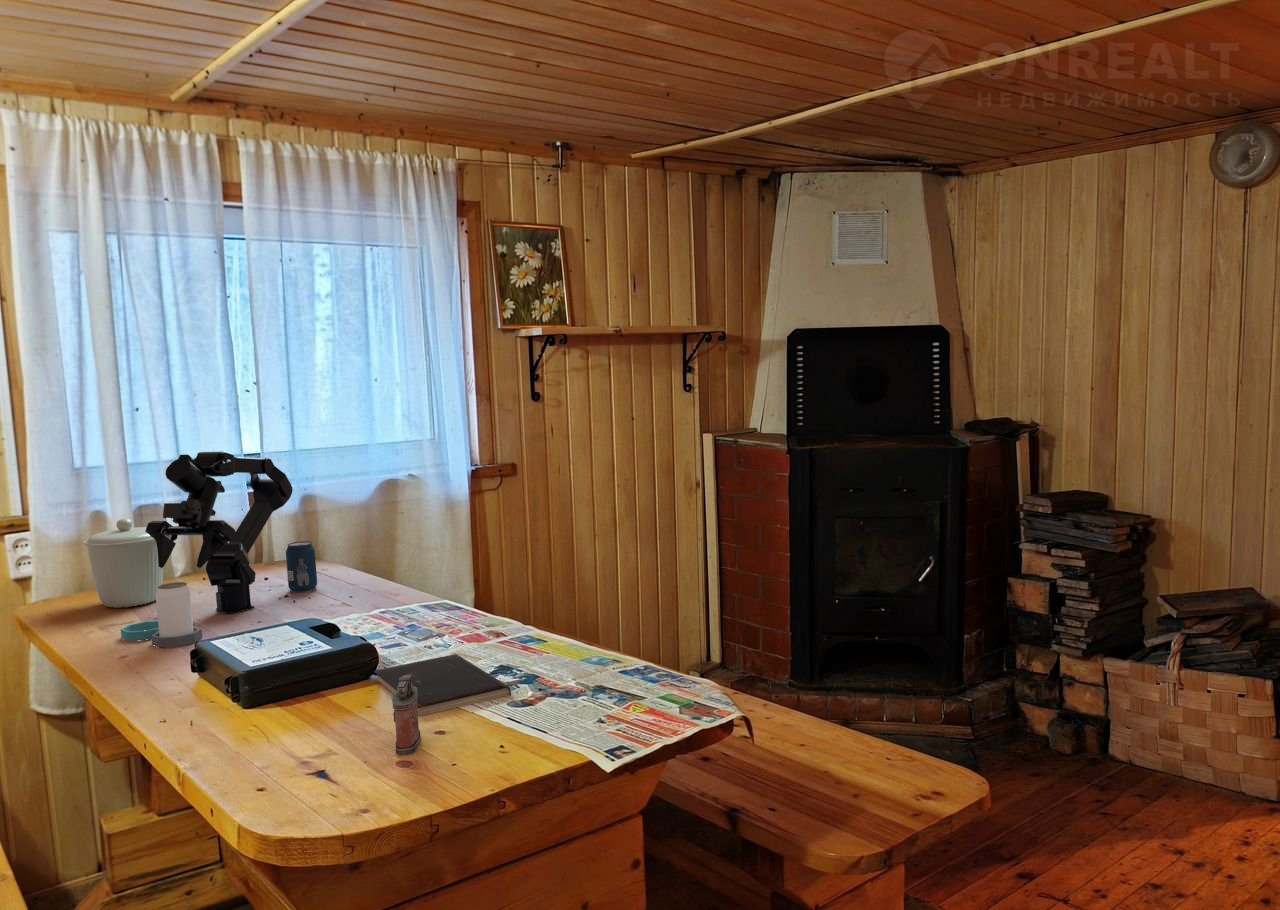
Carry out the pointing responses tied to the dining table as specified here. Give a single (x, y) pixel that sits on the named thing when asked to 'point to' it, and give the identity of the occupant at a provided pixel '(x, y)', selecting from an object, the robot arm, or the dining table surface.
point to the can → (174, 610)
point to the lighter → (406, 717)
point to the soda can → (301, 567)
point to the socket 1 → (139, 631)
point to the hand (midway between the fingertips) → (179, 567)
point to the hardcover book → (445, 683)
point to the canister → (125, 565)
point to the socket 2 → (176, 639)
